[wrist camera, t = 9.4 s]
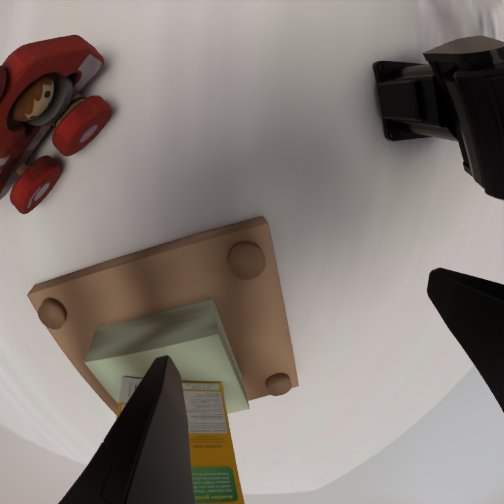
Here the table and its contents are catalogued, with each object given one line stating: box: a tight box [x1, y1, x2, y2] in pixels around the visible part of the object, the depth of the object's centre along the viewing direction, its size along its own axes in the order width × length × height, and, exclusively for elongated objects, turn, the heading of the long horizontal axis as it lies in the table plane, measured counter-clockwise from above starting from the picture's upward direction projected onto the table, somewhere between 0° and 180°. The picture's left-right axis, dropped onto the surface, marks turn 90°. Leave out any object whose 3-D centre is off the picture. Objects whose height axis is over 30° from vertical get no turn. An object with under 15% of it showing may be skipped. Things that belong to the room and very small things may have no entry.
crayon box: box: [116, 377, 244, 504], centre depth 14 cm, size 7×3×12 cm, turn 80°
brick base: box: [27, 216, 299, 415], centre depth 21 cm, size 20×18×6 cm
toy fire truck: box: [0, 35, 112, 214], centre depth 10 cm, size 7×12×10 cm, turn 128°
